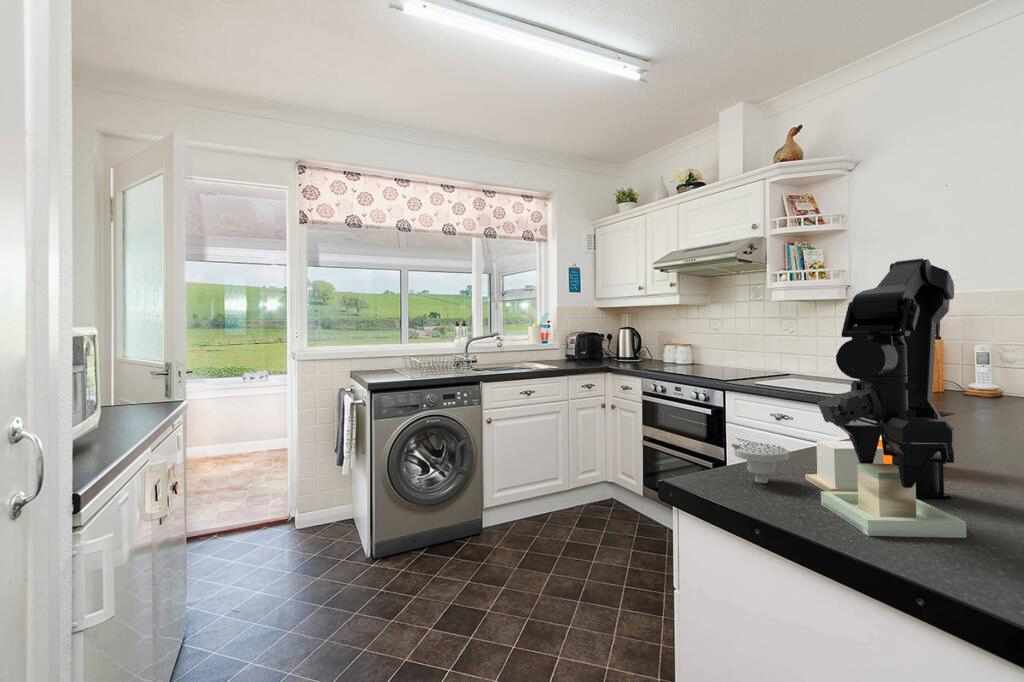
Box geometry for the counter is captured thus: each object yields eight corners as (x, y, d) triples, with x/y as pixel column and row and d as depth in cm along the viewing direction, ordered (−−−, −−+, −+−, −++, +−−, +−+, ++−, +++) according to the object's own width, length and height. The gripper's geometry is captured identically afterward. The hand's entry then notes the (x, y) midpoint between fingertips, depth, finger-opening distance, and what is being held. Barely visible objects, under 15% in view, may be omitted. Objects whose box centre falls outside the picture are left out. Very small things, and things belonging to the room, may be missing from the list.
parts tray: (902, 505, 77) (902, 492, 77) (966, 537, 64) (966, 521, 64) (821, 504, 78) (820, 491, 78) (868, 535, 66) (867, 520, 66)
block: (892, 508, 74) (891, 463, 74) (916, 520, 69) (915, 472, 69) (858, 508, 74) (857, 463, 74) (879, 520, 69) (878, 472, 69)
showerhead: (725, 438, 97) (778, 439, 95) (726, 473, 97) (779, 475, 95) (737, 449, 88) (796, 450, 86) (738, 487, 88) (797, 489, 86)
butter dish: (860, 479, 91) (859, 438, 91) (892, 495, 82) (891, 449, 82) (805, 479, 92) (804, 438, 92) (830, 494, 83) (829, 449, 83)
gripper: (796, 371, 81) (798, 461, 81) (863, 381, 63) (866, 498, 63) (866, 370, 80) (868, 462, 80) (955, 380, 61) (958, 499, 61)
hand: (885, 478), depth 71 cm, fingers open, 9 cm apart
